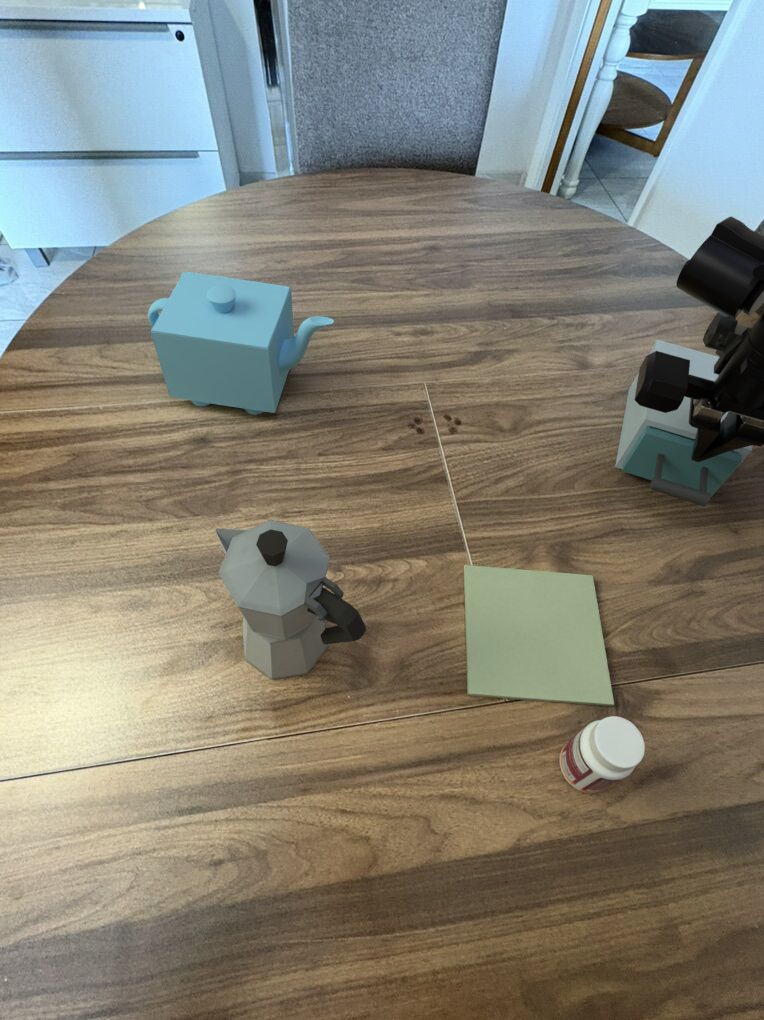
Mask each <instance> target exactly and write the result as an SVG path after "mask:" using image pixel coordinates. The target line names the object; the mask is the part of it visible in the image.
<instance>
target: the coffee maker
mask: <svg viewBox="0 0 764 1020" xmlns="http://www.w3.org/2000/svg"><path fill="white" fill-rule="evenodd" d="M214 533H215V535H216V537H217V539H218V542H219V543H220V546H221V548H222V551H223V553H224V554H225V556H224V558H223V559H222V563H221V565H220V568H219V570H218V576H219V577H220V579H221V581H222V582H223V584H224V586H225V588H226V589H227V591H228V593H229V594H230V596H231V598H232V600H233V601H234V603H235V605H236V606H237V608H238V609H239V610H240V612H241V614H242V618H243V619H242V627H241V629H242V643H243V655H244V656H243V657H244V661H245V662H247V663H248V665H249V664H250V666H252V667H254V668H255V669H256V670H258V671H259V672H260V673H261V674H263V675H264V676H265V677H267V678H268V679H270V680H271V681H274V680H281V679H285V678H292V677H298V676H304V675H308V674H309V673H310V672H311V670H312V669H313V668H314V666H315V665H316V664H317V663H318V661H319V660H320V659H321V658H322V657H323V655H324V654H325V652H326V651H327V650H328V648H329V645H333V644H342V643H353V642H356V641H359V640H361V639H362V638H363V636H364V634H366V632H367V626H366V624H365V622H364V620H363V618H362V616H361V614H360V613H359V611H358V610H357V608H355V606H354V605H352V604H351V603H349V602H348V601H346V600H345V599H343V597H344V593H345V592H344V591H343V590H342V589H341V588H340V587H339V585H337V583H335V582H334V581H332V580H331V579H329V578H328V577H327V574H328V570H329V566H330V561H331V557H330V556H329V554H328V552H327V551H326V550H325V548H324V547H323V545H322V544H321V542H320V541H319V540H318V539H317V537H316V535H315V534H314V532H313V531H312V530H311V528H310V527H307V526H302V525H298V524H293V523H287V522H284V521H279V520H273V519H267V521H264V522H262V523H260V524H258V525H256V526H254V527H252V528H247V529H246V528H224V527H223V528H221V527H217V528H215V529H214ZM326 621H327V622H329V623H332V624H333V625H334V626H328V627H326Z"/></svg>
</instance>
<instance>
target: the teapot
mask: <svg viewBox="0 0 764 1020" xmlns="http://www.w3.org/2000/svg"><path fill="white" fill-rule="evenodd" d="M292 296H293V295H292V288H291V286H286V285H280V284H273V283H268V282H260V281H254V280H247V279H241V278H234V277H227V276H220V275H213V274H208V273H207V274H206V273H200V272H192V271H186V270H185V271H184V270H183V271H182V274H181V275H180V277H179V280H178V281H177V283H176V285H175V286H174V288H173V290H172V292H171V293H170V295H169V297H161V298H159V299H157V300H154V302H152V304H151V305H150V307H149V309H148V312H147V319H148V322H149V324H150V326H151V327H152V328H151V329H150V335H151V339H152V341H153V344H154V348H155V352H156V355H157V358H158V362H159V365H160V369H161V372H162V376H163V380H164V382H165V386H166V389H167V393H168V396H169V398H173V399H178V400H179V399H180V400H185V401H186V400H187V401H191V402H192V404H193V405H195V406H198V407H207V406H209V405H211V404H212V405H218V406H224V407H225V406H226V407H233V408H238V409H239V408H240V409H244V411H245V412H246V413H248V414H250V415H253V416H254V415H260V414H262V413H265V412H266V413H272V414H275V413H276V411H277V408H278V405H279V402H280V399H281V396H282V393H283V390H284V387H285V384H286V381H287V378H288V375H289V372H290V370H291V369H293V368H295V367H296V366H297V365H298V364H299V363H301V361H302V359H304V356H305V354H306V352H307V350H308V346H309V344H310V341H311V339H312V337H313V335H314V334H315V332H317V330H319V329H322V328H324V327H328V326H331V325H333V324H334V322H335V320H334V319H333V318H331V317H327V316H323V315H316V316H310V317H308V318H306V319H304V320H303V321H302V322H301V324H300V325H299V327H298V330H297V332H296V334H295V333H294V332H295V331H294V330H295V329H294V314H293V312H294V311H293V297H292ZM159 312H160V314H159ZM294 334H295V335H294Z"/></svg>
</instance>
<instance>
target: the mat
mask: <svg viewBox="0 0 764 1020" xmlns="http://www.w3.org/2000/svg"><path fill="white" fill-rule="evenodd" d="M463 593H464V595H463V596H464V629H465V630H464V631H465V632H464V633H465V634H464V635H465V659H466V660H465V663H466V665H465V666H466V695H467V696H468V697H482V698H496V699H506V700H507V699H508V700H521V701H532V702H533V701H534V702H548V703H549V702H550V703H561V704H562V703H563V704H575V705H589V706H600V707H601V706H602V707H605V706H606V707H614V706H615V701H614V700H615V699H614V695H613V688H612V682H611V677H610V676H611V675H610V671H609V670H610V669H609V665H608V664H609V663H608V659H607V653H606V647H605V641H604V635H603V629H602V623H601V616H600V611H599V604H598V598H597V593H596V586H595V580H594V576H593V574H582V573H569V572H559V571H557V572H556V571H545V570H534V569H533V570H532V569H519V568H510V567H509V568H508V567H496V566H495V567H494V566H484V565H483V566H481V565H473V564H472V565H471V564H464V565H463Z"/></svg>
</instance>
